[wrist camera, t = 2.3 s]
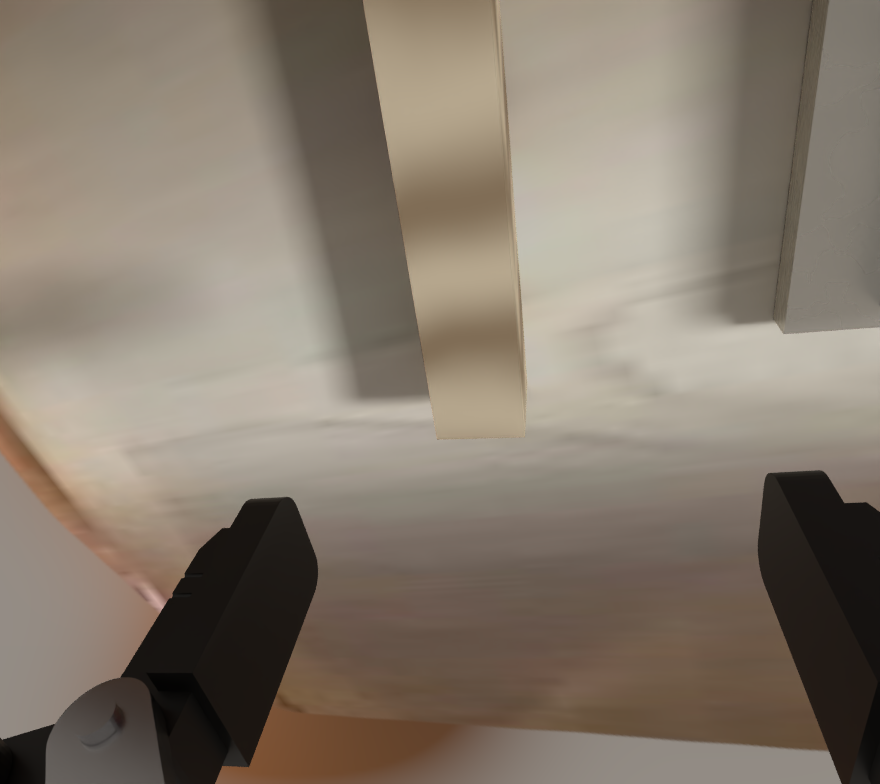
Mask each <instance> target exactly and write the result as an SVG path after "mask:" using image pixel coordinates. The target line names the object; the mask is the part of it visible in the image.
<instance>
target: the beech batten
mask: <svg viewBox="0 0 880 784" xmlns="http://www.w3.org/2000/svg"><path fill="white" fill-rule="evenodd" d="M363 5H364V11H365V17H366V23H367V29H368V35H369V41H370V46H371V52H372V58H373V64H374V70H375V76H376V82H377V88H378V94H379V100H380V106H381V111H382V117H383V123H384V129H385V135H386V141H387V147H388V153H389V159H390V165H391V171H392V177H393V182H394V188H395V194H396V200H397V206H398V212H399V218H400V224H401V230H402V236H403V242H404V248H405V253H406V259H407V265H408V271H409V277H410V283H411V289H412V295H413V301H414V307H415V313H416V319H417V324H418V330H419V336H420V342H421V348H422V354H423V360H424V366H425V372H426V378H427V384H428V389H429V395H430V401H431V407H432V413H433V419H434V425H435V431H436V437H437V440H439V439H477V438H514V437H525V422H526V398H527V373H526V359H525V345H524V331H523V318H522V304H521V290H520V276H519V263H518V249H517V235H516V221H515V208H514V194H513V180H512V166H511V152H510V139H509V125H508V111H507V97H506V84H505V70H504V56H503V42H502V29H501V15H500V1H499V0H363Z"/></svg>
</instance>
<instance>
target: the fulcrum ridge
mask: <svg viewBox="0 0 880 784" xmlns="http://www.w3.org/2000/svg"><path fill="white" fill-rule="evenodd" d="M773 319H774V321H775V322H776V324H777V325H778V327H779V328H780V329H781V331H782V332H783V334H791V333H805V332H818V331H832V330H846V329H860V328H874V327H880V0H813V4H812V12H811V20H810V28H809V36H808V44H807V52H806V60H805V68H804V76H803V84H802V92H801V100H800V108H799V116H798V124H797V132H796V140H795V148H794V156H793V164H792V172H791V180H790V188H789V196H788V204H787V212H786V220H785V228H784V236H783V244H782V252H781V260H780V268H779V276H778V284H777V292H776V300H775V308H774V316H773Z"/></svg>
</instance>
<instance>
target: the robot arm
mask: <svg viewBox="0 0 880 784" xmlns="http://www.w3.org/2000/svg"><path fill="white" fill-rule="evenodd" d="M758 558H759V565H760V571H761V575H762V578H763V582H764V585H765V587H766V590H767V592H768V595H769V598H770V600H771V603H772V605H773V608H774V610H775V613H776V616H777V618H778V621H779V623H780V626H781V629H782V631H783V634H784V636H785V639H786V641H787V644H788V647H789V649H790V652H791V654H792V657H793V659H794V662H795V665H796V667H797V670H798V672H799V675H800V677H801V680H802V683H803V685H804V688H805V690H806V693H807V695H808V698H809V701H810V703H811V706H812V708H813V711H814V714H815V716H816V719H817V721H818V724H819V726H820V729H821V732H822V734H823V737H824V739H825V742H826V744H827V747H828V750H829V752H830V755H831V757H832V760H833V762H834V765H835V767H836V770H837V773H838V775H839V778H840V780H841V783H842V784H880V512H879V511H877V510H876V509H875V508H873V507H872V506H871V505H869V504H868V503H867V502H864V503H844V502H843V500H842V499H841V497H840V495H839V494H838V492H837V490H836V489H835V487H834V486H833V484H832V482H831V481H830V479H829V477H828V476H827V475H826V474H825V473H824V472H823V471H820V470H817V471H798V472H779V473H768V474H767V476H766V478H765V482H764V491H763V500H762V510H761V519H760V528H759V538H758ZM317 579H318V565H317V559H316V555H315V553H314V550H313V547H312V545H311V542H310V540H309V537H308V534H307V532H306V529H305V527H304V524H303V521H302V519H301V516H300V514H299V511H298V508H297V506H296V504H295V502H294V501H293V500H292V499H291V498H290V497H279V498H260V499H249V500H248V501H246V502H245V503H244V505H243V506H242V508H241V510H240V512H239V513H238V515H237V517H236V518H235V520H234V522H233V524H232V525H231V527H230V528H222V529H221V530H220V531H219V532H218V533H217V534H216V535H214V536H213V537H212V538H211V539H210V540H209V541H208V542H207V543H206V544H205V545H204V546H203V547H201V548H200V549H199V551H198V552H197V554H196V556H195V557H194V559H193V561H192V562H191V564H190V565H189V567H188V569H187V570H186V572H185V577H184V578H181V580H180V582H179V583H178V585H177V587H176V588H175V590H174V591H173V593H172V594H173V597H172V598H169V600H168V601H167V603H166V604H165V606H164V608H163V609H162V611H161V613H160V614H159V616H158V617H157V619H156V621H155V622H154V624H153V626H152V627H151V629H150V630H149V632H148V634H147V635H146V637H145V639H144V640H143V642H142V644H141V645H140V647H139V648H138V650H137V652H136V653H135V655H134V656H133V658H132V660H131V662H130V663H129V665H128V666H127V668H126V670H125V671H124V673H123V674H122V676H121V677H120V678H117V679H112V680H109V681H106V682H104V683H101V684H99V685H97V686H95V687H94V688H92V689H90V690H89V691H87V692H86V693H84V694H83V695H81V696H80V697H79V698H78V699H77V700H75V701H74V702H73V703H72V704H71V705H70V706H69V707H68V708H67V709H66V710H65V712H64V713H63V714H62V715H61V717H60V718H59V719H58V721H57V722H56V724H53V725H50V726H46V727H43V728H40V729H37V730H33V731H30V732H27V733H23V734H20V735H17V736H13V737H10V738H7V739H3V740H2V739H1V738H0V784H215V782H216V780H217V777H218V775H219V772H220V770H221V768H222V766H238V767H240V766H241V767H249V765H250V763H251V760H252V758H253V755H254V752H255V750H256V747H257V744H258V741H259V739H260V736H261V734H262V731H263V728H264V726H265V723H266V720H267V718H268V715H269V712H270V710H271V707H272V704H273V702H274V699H275V696H276V694H277V691H278V688H279V686H280V683H281V680H282V678H283V675H284V672H285V670H286V667H287V665H288V662H289V659H290V657H291V654H292V651H293V649H294V646H295V643H296V641H297V638H298V635H299V633H300V630H301V627H302V625H303V622H304V619H305V617H306V614H307V611H308V609H309V606H310V603H311V601H312V598H313V595H314V593H315V590H316V585H317Z"/></svg>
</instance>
